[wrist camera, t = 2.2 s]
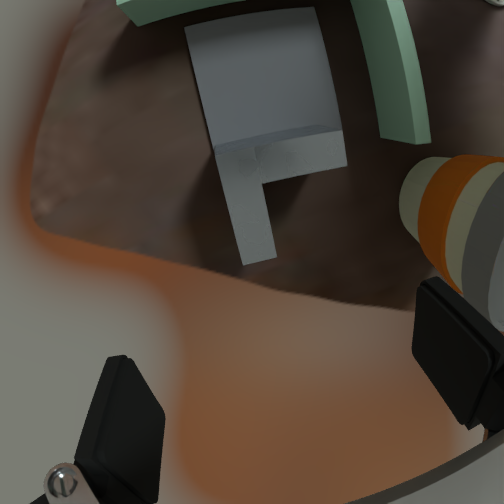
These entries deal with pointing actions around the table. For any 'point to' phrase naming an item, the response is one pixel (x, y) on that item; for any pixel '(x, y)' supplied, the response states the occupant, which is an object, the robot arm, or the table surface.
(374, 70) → the corner walls
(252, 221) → the bracket
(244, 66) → the mat
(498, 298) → the reusable coffee cup
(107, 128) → the table surface
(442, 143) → the table surface
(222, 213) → the table surface
